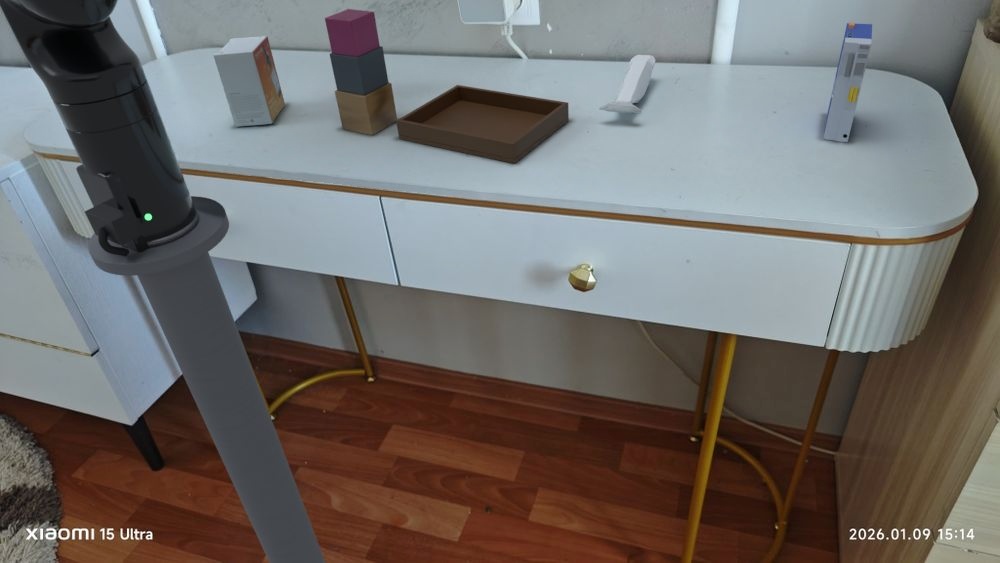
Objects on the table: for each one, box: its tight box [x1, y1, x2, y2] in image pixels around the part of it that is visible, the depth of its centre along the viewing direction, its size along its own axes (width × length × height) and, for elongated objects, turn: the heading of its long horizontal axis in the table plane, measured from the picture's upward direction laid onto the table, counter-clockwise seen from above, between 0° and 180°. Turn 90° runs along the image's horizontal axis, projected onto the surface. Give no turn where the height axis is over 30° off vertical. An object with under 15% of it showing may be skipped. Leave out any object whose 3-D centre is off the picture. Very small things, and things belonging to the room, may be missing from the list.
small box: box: [213, 35, 286, 128], centre depth 100 cm, size 8×6×10 cm
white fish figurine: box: [598, 54, 656, 114], centre depth 97 cm, size 6×18×4 cm, turn 160°
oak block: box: [334, 82, 398, 136], centre depth 95 cm, size 6×6×6 cm
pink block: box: [324, 8, 381, 57], centre depth 90 cm, size 4×4×4 cm
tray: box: [395, 84, 570, 164], centre depth 92 cm, size 14×18×3 cm
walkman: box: [823, 21, 873, 143], centre depth 82 cm, size 8×3×12 cm, turn 156°
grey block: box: [329, 45, 389, 95], centre depth 92 cm, size 5×5×5 cm
